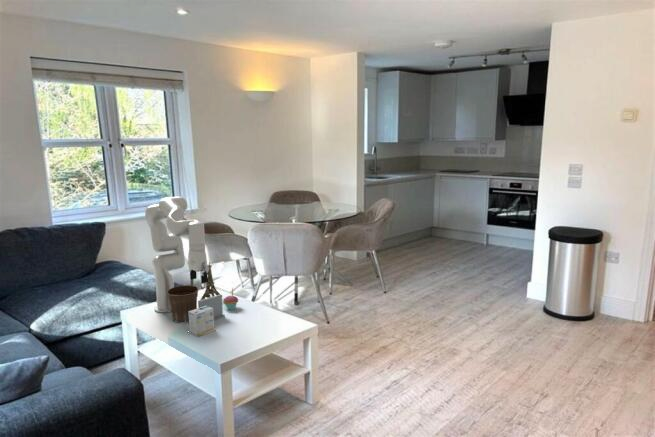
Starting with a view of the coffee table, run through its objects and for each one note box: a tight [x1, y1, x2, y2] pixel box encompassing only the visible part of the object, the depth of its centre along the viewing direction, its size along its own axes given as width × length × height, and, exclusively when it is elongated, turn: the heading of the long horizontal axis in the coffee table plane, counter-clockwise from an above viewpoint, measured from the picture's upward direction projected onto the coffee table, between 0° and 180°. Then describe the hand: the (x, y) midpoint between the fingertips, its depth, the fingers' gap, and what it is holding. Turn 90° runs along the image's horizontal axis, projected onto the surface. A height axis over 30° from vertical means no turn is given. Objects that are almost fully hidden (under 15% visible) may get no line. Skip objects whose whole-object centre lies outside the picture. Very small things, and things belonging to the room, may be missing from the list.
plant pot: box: [167, 284, 200, 324], centre depth 244 cm, size 16×16×16 cm
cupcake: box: [222, 288, 239, 311], centre depth 259 cm, size 9×8×12 cm
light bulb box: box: [188, 305, 215, 334], centre depth 228 cm, size 11×7×11 cm, turn 141°
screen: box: [197, 293, 226, 321], centre depth 243 cm, size 5×14×12 cm, turn 138°
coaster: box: [187, 327, 216, 338], centre depth 229 cm, size 10×10×1 cm
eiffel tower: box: [198, 262, 221, 301], centre depth 275 cm, size 11×11×25 cm
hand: (198, 280), depth 225 cm, fingers open, 9 cm apart
